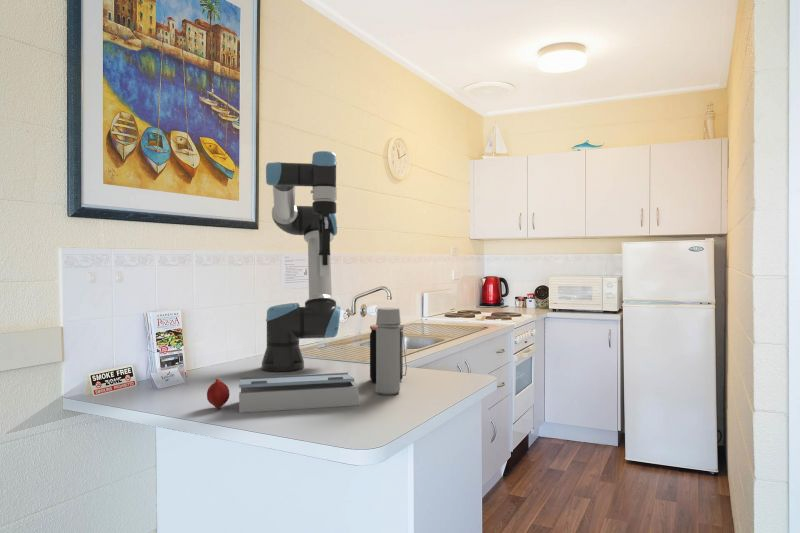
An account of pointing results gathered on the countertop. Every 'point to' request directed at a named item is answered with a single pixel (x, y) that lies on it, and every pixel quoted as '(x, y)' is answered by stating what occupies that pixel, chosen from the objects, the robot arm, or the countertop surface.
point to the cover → (295, 379)
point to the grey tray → (298, 396)
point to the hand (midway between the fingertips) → (324, 275)
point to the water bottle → (388, 351)
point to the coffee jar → (373, 353)
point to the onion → (218, 393)
